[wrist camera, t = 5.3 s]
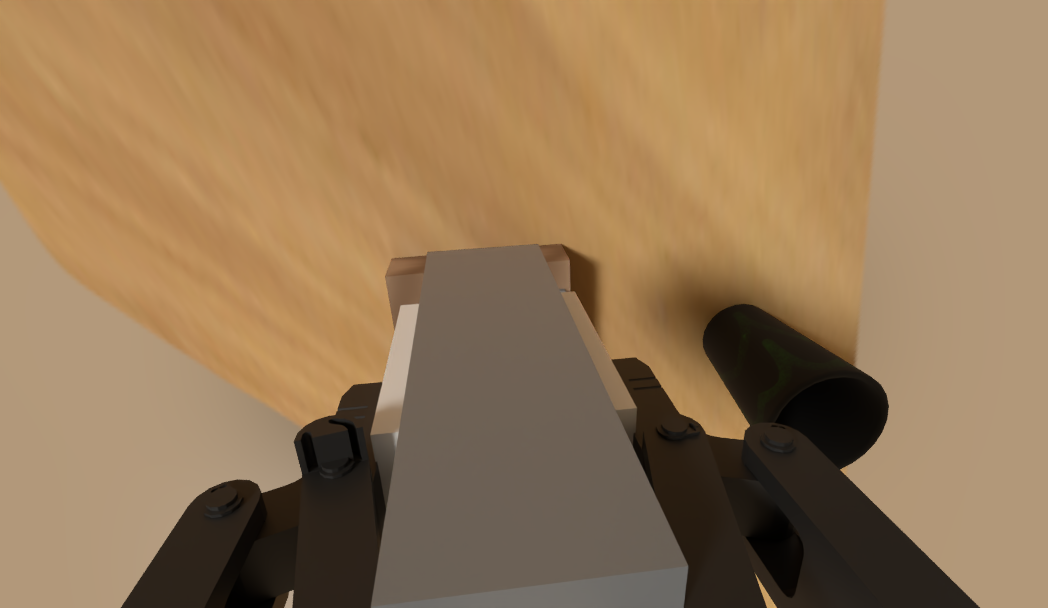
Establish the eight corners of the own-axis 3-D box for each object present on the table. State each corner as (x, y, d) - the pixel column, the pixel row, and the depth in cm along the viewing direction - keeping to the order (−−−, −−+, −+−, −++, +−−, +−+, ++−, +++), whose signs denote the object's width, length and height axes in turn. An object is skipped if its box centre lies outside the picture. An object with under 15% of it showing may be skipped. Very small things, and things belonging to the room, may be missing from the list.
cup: (756, 384, 46) (848, 485, 35) (675, 366, 44) (745, 466, 33) (799, 303, 43) (914, 386, 32) (714, 281, 41) (804, 360, 30)
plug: (538, 244, 20) (688, 566, 7) (541, 341, 21) (667, 748, 9) (427, 251, 19) (371, 606, 7) (438, 350, 21) (411, 788, 8)
